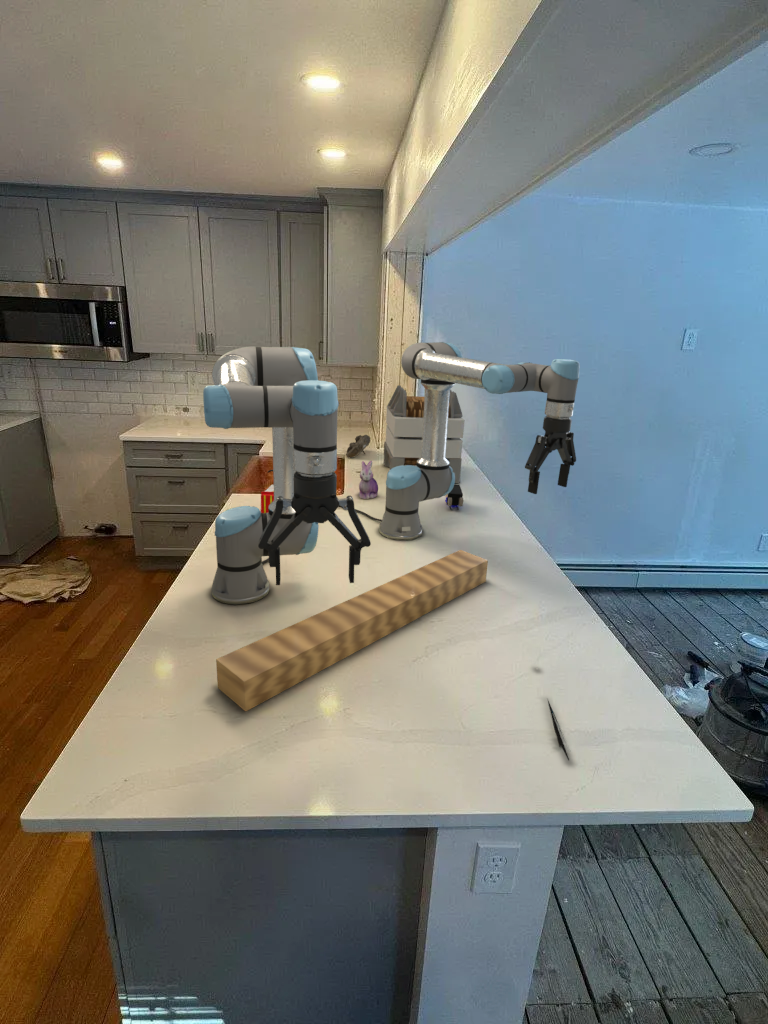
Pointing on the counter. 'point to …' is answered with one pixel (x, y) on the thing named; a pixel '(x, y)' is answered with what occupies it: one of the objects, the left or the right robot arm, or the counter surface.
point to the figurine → (367, 482)
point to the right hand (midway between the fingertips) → (547, 489)
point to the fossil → (358, 446)
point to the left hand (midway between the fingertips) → (315, 581)
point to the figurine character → (455, 497)
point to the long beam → (343, 629)
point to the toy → (267, 499)
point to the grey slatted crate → (419, 431)
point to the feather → (557, 730)
